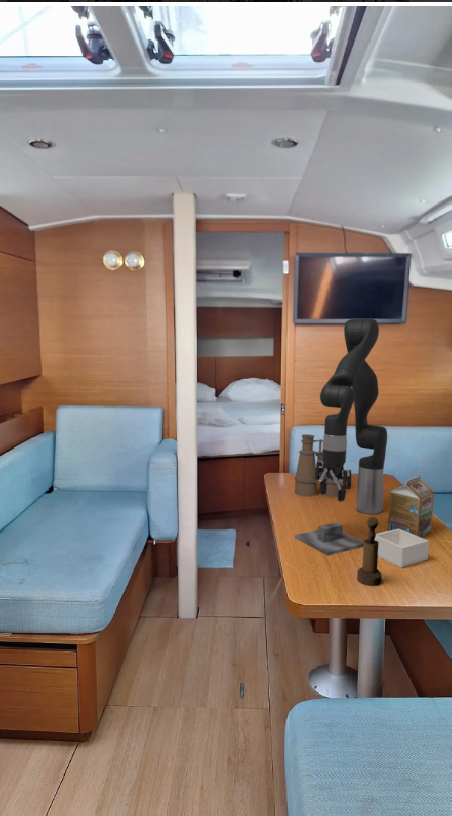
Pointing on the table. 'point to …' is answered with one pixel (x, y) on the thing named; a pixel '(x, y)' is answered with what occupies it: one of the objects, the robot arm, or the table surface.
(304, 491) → the binoculars
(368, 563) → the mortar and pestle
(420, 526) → the milk carton
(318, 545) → the lid
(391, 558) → the white storage bin
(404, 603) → the table surface
